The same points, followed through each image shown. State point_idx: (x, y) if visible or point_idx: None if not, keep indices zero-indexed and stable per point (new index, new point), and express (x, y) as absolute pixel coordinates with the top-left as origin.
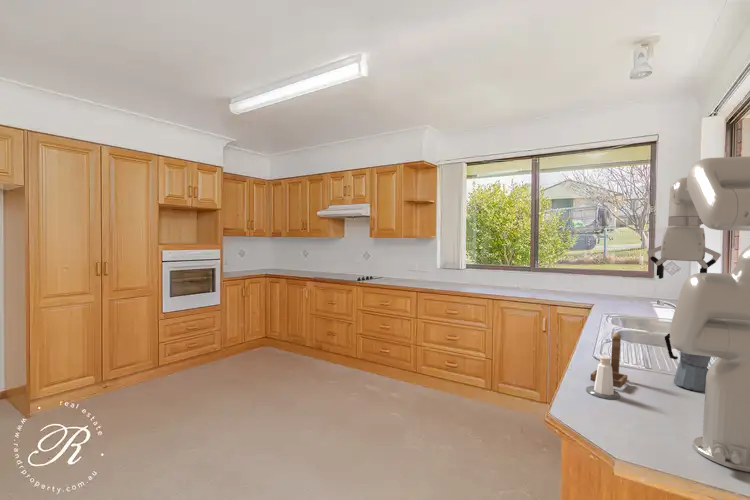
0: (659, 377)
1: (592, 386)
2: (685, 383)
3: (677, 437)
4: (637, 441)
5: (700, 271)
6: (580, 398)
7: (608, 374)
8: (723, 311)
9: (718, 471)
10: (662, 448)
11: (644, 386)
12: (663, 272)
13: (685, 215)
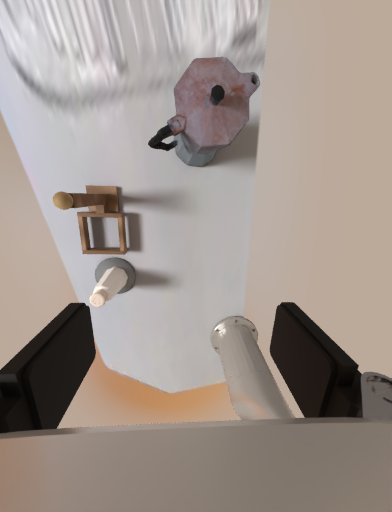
0: (151, 125)
1: (98, 268)
2: (191, 163)
3: (199, 331)
4: (175, 361)
5: (303, 409)
6: (105, 311)
7: (114, 295)
8: None
9: None
10: (192, 358)
11: (145, 201)
12: (69, 331)
13: None
